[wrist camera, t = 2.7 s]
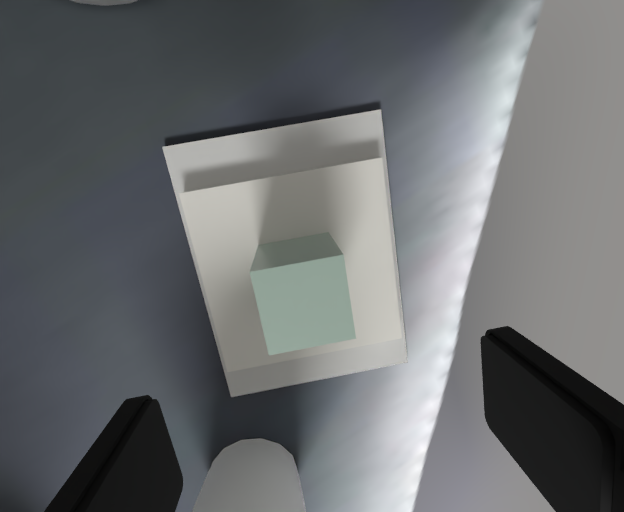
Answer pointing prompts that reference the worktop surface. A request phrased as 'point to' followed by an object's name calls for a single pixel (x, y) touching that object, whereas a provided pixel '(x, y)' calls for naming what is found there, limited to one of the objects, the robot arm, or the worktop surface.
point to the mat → (277, 161)
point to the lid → (296, 262)
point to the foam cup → (252, 480)
